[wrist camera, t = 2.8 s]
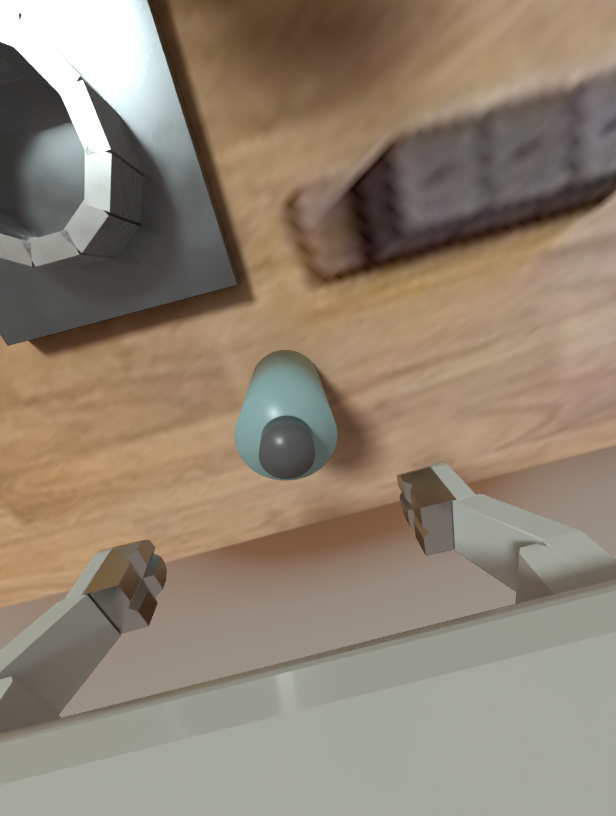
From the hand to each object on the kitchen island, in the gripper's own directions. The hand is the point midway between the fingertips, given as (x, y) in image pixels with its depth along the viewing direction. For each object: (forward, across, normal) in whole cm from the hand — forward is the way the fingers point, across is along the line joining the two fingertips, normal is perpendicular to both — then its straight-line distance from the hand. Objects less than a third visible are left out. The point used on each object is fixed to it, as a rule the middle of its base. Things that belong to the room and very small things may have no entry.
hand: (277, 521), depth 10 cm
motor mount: (+13, +7, -14) cm, 21 cm away
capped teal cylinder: (+13, -1, 0) cm, 13 cm away
